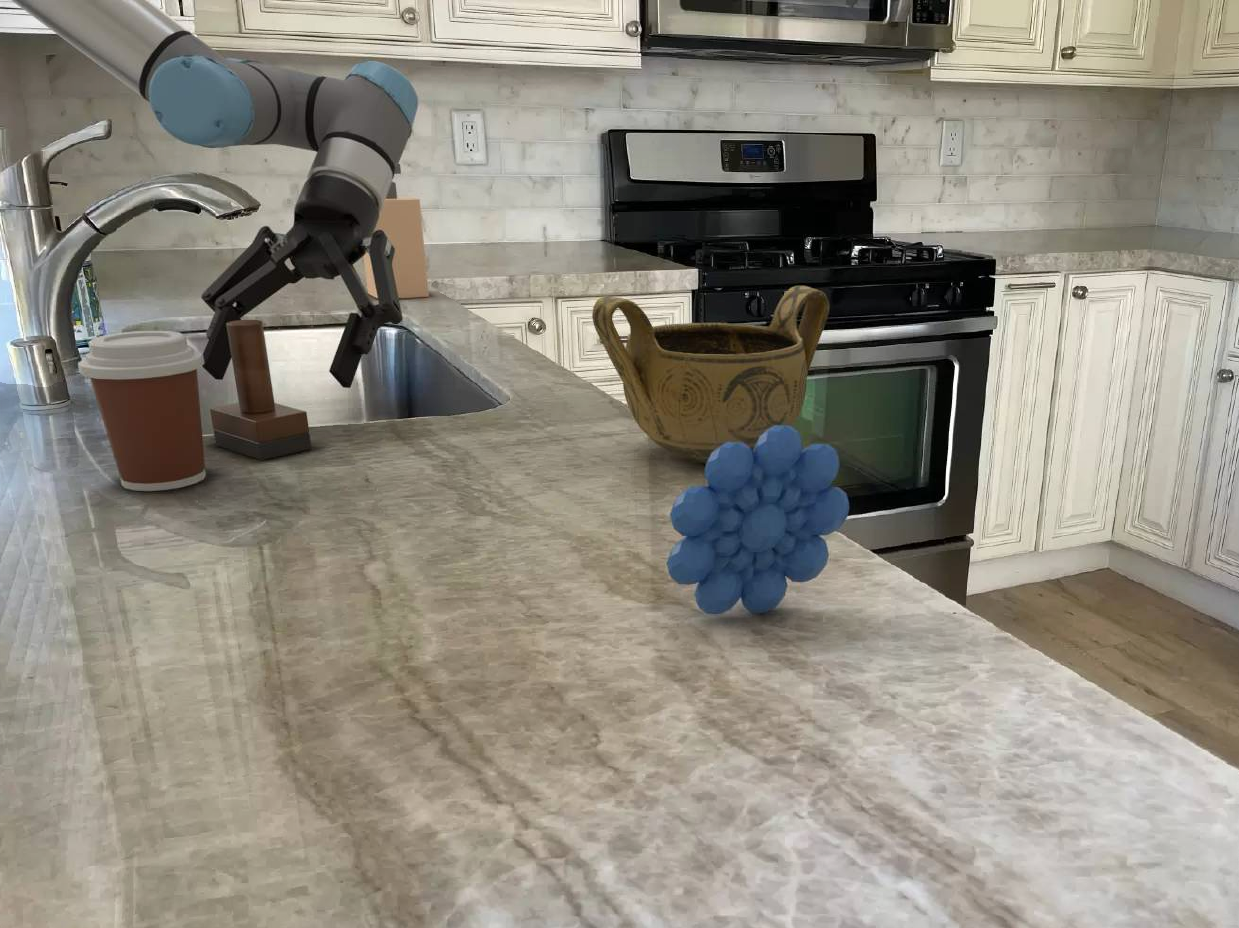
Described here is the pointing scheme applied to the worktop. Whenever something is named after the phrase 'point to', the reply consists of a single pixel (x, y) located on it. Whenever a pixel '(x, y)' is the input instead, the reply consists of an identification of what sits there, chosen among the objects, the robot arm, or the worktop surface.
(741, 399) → the ceramic bowl
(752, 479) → the blue flower shape
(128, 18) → the robot arm
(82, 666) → the worktop surface
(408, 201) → the soap dispenser
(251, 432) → the rubber stamp
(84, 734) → the worktop surface
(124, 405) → the coffee cup
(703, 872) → the worktop surface
